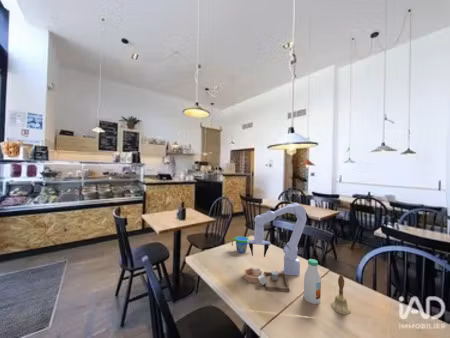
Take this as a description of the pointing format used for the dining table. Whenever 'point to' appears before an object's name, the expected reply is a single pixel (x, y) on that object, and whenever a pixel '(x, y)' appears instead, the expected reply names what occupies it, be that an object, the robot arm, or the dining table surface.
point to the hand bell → (340, 299)
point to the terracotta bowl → (251, 275)
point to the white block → (262, 279)
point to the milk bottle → (312, 283)
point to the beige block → (256, 272)
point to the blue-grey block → (274, 275)
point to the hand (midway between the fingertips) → (258, 255)
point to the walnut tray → (276, 282)
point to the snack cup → (241, 243)
